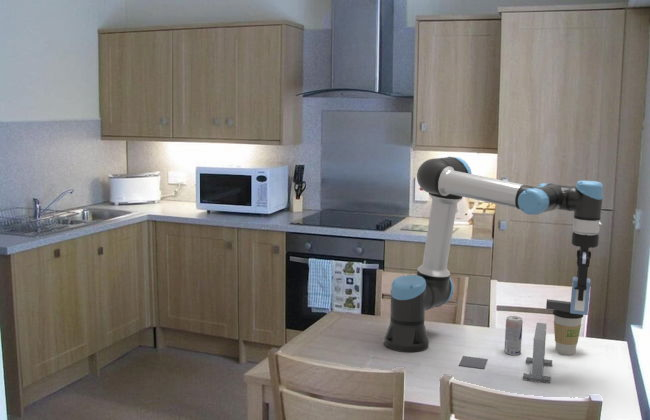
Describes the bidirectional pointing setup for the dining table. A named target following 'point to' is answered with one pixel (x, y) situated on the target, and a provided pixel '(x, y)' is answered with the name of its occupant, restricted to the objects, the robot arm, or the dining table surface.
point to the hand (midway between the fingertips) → (579, 307)
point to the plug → (571, 305)
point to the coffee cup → (566, 331)
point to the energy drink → (513, 335)
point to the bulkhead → (538, 356)
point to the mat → (473, 362)
